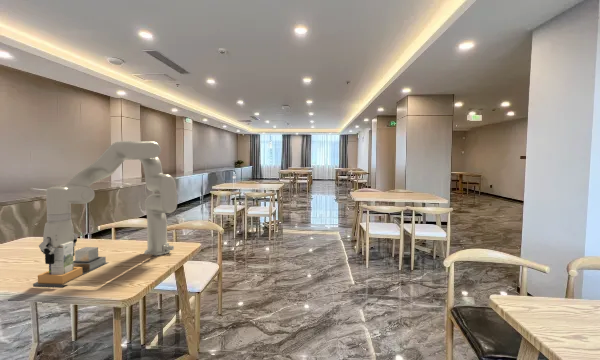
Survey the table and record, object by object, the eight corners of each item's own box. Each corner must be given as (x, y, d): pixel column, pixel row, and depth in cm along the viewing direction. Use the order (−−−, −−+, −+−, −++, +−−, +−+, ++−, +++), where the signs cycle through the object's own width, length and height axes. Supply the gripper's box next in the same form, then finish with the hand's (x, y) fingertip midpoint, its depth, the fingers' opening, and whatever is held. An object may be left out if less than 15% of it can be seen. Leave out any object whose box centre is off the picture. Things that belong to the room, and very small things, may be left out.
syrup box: (59, 275, 124) (58, 240, 123) (74, 275, 124) (73, 240, 124) (48, 280, 118) (47, 244, 118) (64, 280, 119) (63, 244, 118)
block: (98, 264, 138) (98, 247, 137) (88, 268, 132) (88, 251, 131) (85, 264, 138) (85, 247, 138) (75, 268, 132) (75, 250, 132)
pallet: (84, 264, 141) (84, 255, 141) (109, 265, 141) (109, 256, 141) (33, 286, 115) (32, 276, 115) (63, 287, 115) (62, 277, 115)
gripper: (67, 214, 129) (69, 253, 129) (29, 221, 111) (31, 266, 112) (84, 214, 128) (85, 253, 129) (49, 222, 111) (50, 267, 112)
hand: (60, 259), depth 121 cm, fingers open, 9 cm apart
